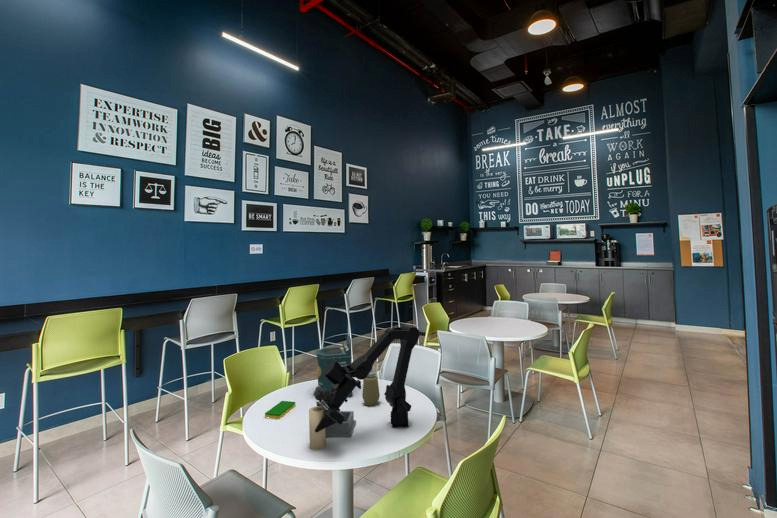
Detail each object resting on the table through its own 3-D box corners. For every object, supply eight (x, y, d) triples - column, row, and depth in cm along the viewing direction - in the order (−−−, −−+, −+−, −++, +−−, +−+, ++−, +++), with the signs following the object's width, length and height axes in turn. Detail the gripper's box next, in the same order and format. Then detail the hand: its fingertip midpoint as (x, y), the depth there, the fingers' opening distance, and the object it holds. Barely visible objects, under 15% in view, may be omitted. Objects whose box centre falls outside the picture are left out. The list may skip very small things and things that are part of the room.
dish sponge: (296, 406, 164) (295, 401, 164) (279, 420, 150) (279, 414, 150) (282, 405, 165) (281, 400, 165) (264, 419, 152) (264, 413, 152)
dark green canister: (352, 397, 172) (351, 339, 172) (318, 401, 169) (316, 341, 169) (348, 385, 188) (347, 332, 188) (317, 389, 184) (315, 334, 184)
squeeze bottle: (364, 408, 159) (363, 367, 159) (360, 401, 167) (359, 362, 167) (381, 405, 161) (380, 366, 161) (377, 399, 169) (376, 361, 169)
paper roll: (327, 441, 131) (326, 405, 131) (323, 449, 125) (322, 412, 125) (312, 441, 131) (311, 405, 131) (307, 449, 126) (306, 412, 126)
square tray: (356, 422, 146) (355, 410, 146) (351, 437, 134) (350, 424, 134) (326, 422, 146) (326, 410, 146) (319, 437, 134) (319, 423, 134)
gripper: (319, 371, 138) (291, 406, 133) (334, 386, 122) (302, 426, 117) (339, 388, 142) (313, 422, 137) (357, 405, 125) (327, 444, 120)
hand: (313, 428), depth 128 cm, fingers closed on paper roll, 6 cm apart
